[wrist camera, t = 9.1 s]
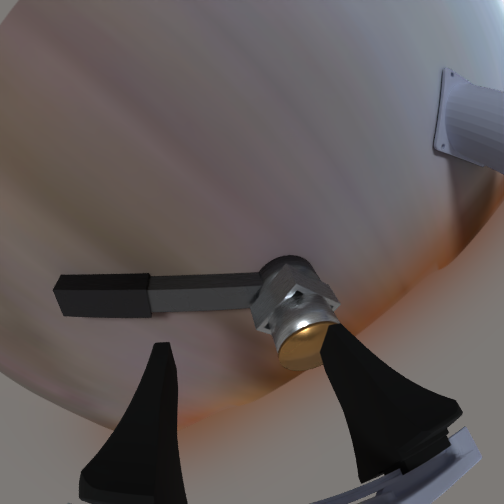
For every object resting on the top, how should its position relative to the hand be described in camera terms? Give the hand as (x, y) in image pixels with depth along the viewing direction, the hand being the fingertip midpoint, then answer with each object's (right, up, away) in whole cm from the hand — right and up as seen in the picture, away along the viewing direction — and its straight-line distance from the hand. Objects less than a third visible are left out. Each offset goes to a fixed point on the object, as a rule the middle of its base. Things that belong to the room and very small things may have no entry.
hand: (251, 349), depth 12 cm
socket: (+3, +1, +10) cm, 10 cm away
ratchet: (-5, +2, +10) cm, 11 cm away
